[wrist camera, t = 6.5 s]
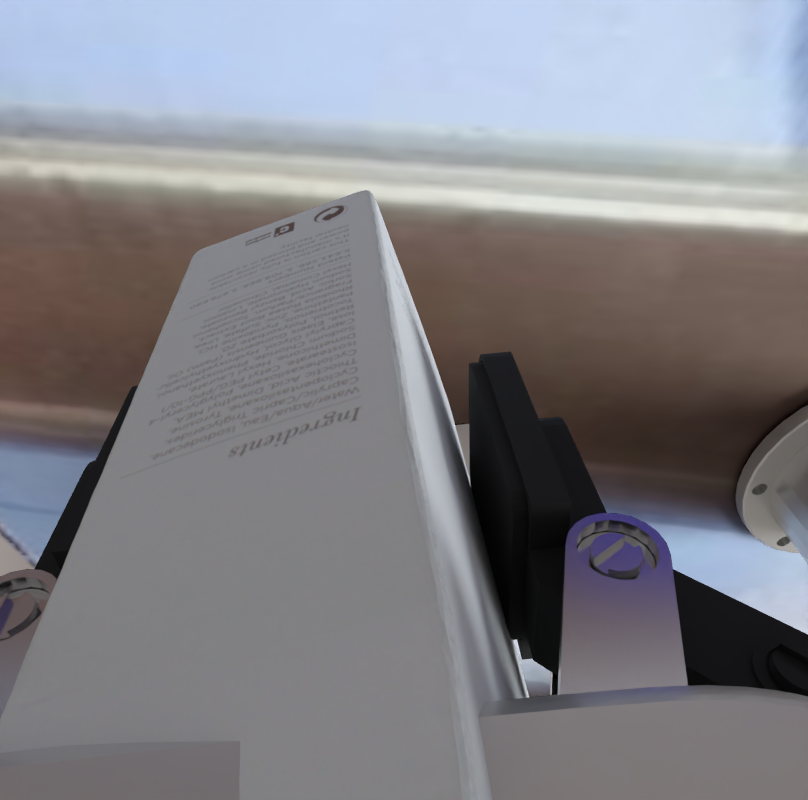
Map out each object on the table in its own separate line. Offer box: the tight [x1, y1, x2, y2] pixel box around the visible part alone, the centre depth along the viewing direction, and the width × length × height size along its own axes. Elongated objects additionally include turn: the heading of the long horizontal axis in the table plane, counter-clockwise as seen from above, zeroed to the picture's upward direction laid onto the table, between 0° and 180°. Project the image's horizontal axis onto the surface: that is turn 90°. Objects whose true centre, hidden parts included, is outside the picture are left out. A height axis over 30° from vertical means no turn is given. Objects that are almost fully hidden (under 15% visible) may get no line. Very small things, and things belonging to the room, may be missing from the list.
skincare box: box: [0, 190, 529, 800], centre depth 10 cm, size 6×4×12 cm
